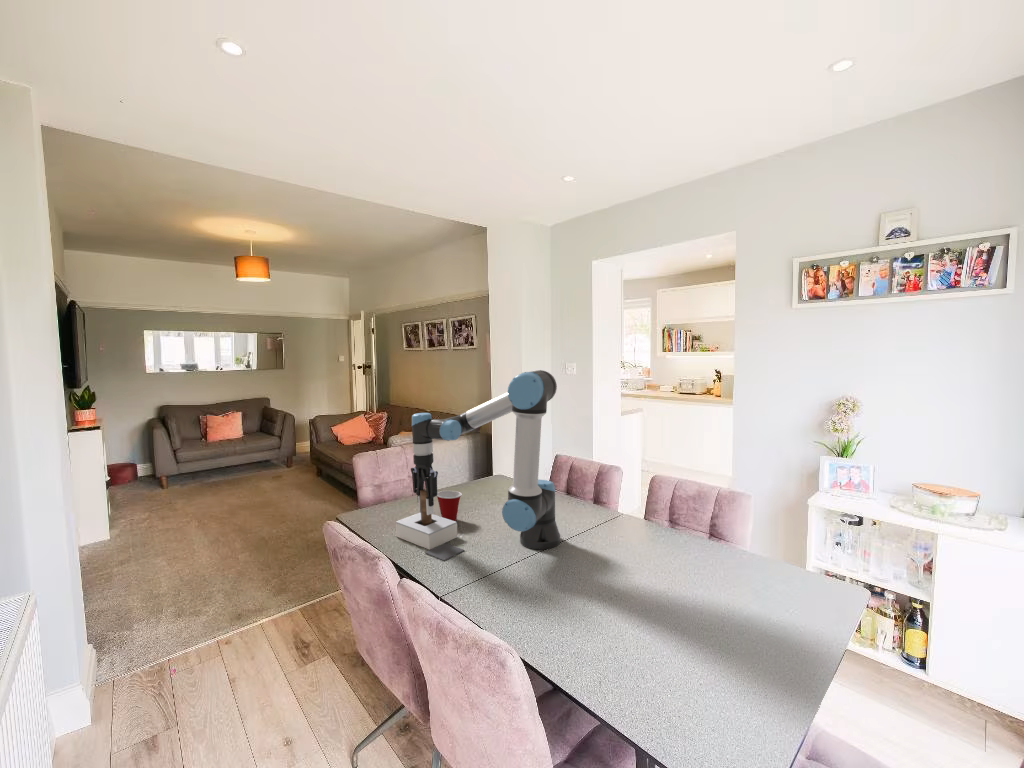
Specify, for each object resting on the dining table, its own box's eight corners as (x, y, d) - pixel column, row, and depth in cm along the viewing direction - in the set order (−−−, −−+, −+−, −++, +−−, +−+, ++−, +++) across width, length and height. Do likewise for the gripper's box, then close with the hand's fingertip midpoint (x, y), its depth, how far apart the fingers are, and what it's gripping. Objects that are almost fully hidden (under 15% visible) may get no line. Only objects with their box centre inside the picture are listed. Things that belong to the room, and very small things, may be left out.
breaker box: (457, 537, 182) (456, 521, 181) (429, 549, 171) (428, 533, 170) (423, 525, 194) (423, 511, 194) (395, 536, 184) (395, 521, 183)
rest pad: (464, 550, 169) (464, 549, 169) (443, 561, 162) (443, 560, 162) (445, 543, 176) (445, 542, 176) (424, 553, 168) (424, 552, 168)
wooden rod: (434, 527, 183) (432, 490, 181) (426, 531, 180) (424, 492, 178) (427, 525, 185) (425, 488, 184) (419, 528, 182) (417, 491, 181)
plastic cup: (467, 520, 198) (466, 493, 197) (445, 527, 191) (444, 499, 190) (453, 514, 207) (452, 487, 206) (432, 520, 200) (431, 492, 199)
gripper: (445, 454, 177) (448, 514, 179) (416, 448, 188) (419, 505, 190) (430, 458, 172) (433, 520, 173) (401, 452, 182) (404, 511, 184)
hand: (426, 512), depth 182 cm, fingers closed on wooden rod, 4 cm apart
